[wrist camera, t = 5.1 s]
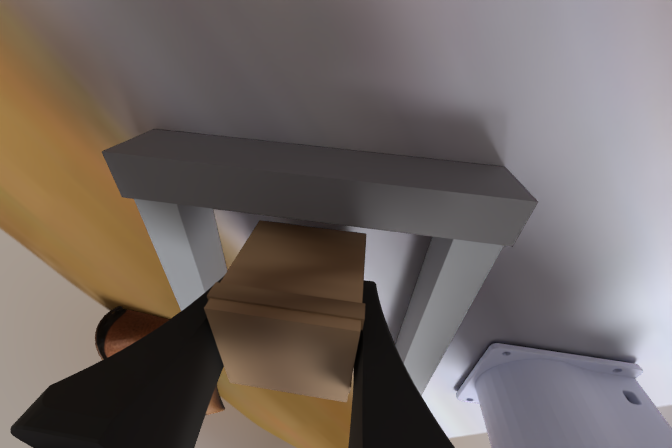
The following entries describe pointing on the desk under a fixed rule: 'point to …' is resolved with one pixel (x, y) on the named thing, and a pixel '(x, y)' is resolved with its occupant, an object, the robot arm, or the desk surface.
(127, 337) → the sunglasses case
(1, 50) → the desk surface
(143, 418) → the robot arm
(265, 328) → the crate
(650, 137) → the desk surface
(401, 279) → the desk surface
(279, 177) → the bay
